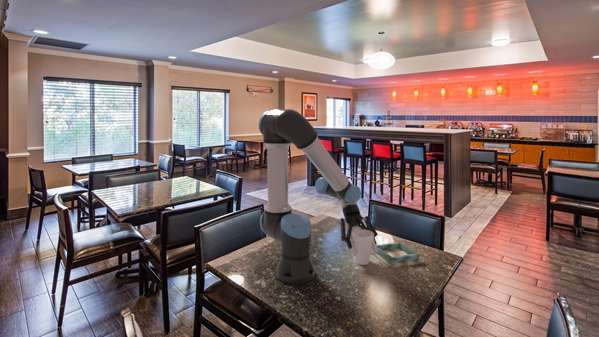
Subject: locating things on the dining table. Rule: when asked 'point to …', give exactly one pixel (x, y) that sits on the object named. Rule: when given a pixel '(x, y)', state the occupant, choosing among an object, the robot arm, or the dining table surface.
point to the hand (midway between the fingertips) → (365, 253)
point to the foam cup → (362, 245)
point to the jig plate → (397, 255)
